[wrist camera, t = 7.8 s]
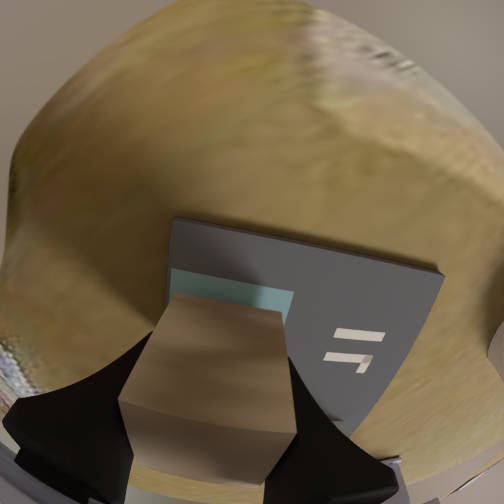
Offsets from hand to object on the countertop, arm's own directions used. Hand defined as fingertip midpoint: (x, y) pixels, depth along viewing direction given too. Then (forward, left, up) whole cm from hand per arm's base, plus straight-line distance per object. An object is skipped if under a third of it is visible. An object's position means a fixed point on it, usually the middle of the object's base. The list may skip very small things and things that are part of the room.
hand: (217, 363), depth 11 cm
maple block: (0, 0, -1) cm, 1 cm away
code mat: (-4, +4, -3) cm, 6 cm away
